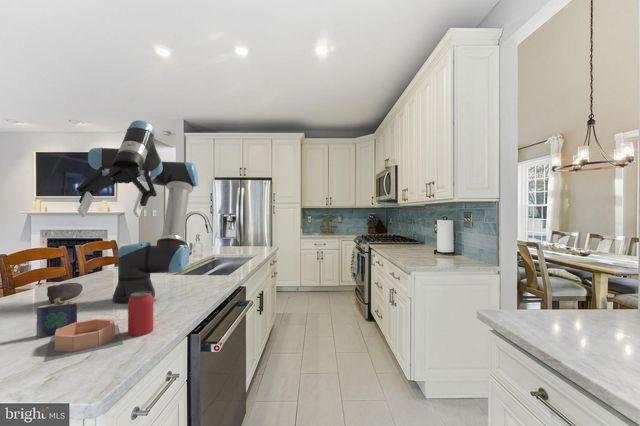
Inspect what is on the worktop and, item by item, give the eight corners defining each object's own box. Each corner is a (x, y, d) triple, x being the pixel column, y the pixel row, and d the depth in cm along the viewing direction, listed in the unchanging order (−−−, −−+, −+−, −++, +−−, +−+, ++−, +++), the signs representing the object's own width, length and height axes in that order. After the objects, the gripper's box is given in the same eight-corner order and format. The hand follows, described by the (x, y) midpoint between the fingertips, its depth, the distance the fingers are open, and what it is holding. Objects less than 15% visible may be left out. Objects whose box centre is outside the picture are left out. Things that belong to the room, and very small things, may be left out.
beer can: (141, 338, 87) (141, 297, 87) (122, 336, 88) (122, 295, 88) (158, 330, 94) (158, 291, 94) (139, 328, 95) (140, 290, 95)
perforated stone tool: (77, 294, 134) (77, 278, 134) (87, 295, 133) (87, 279, 133) (40, 304, 119) (40, 286, 119) (51, 305, 119) (51, 287, 119)
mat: (51, 338, 87) (51, 337, 87) (117, 326, 97) (117, 324, 97) (43, 363, 73) (43, 361, 73) (123, 345, 82) (123, 344, 82)
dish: (57, 338, 86) (57, 325, 86) (112, 328, 94) (112, 316, 94) (53, 355, 76) (53, 340, 76) (115, 342, 83) (115, 328, 83)
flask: (35, 339, 86) (35, 301, 86) (38, 335, 89) (38, 299, 89) (76, 333, 91) (76, 297, 91) (78, 329, 94) (78, 295, 94)
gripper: (80, 148, 90) (49, 204, 78) (170, 151, 94) (154, 206, 82) (92, 166, 96) (65, 221, 84) (175, 168, 100) (161, 221, 88)
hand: (109, 214), depth 83 cm, fingers open, 13 cm apart
